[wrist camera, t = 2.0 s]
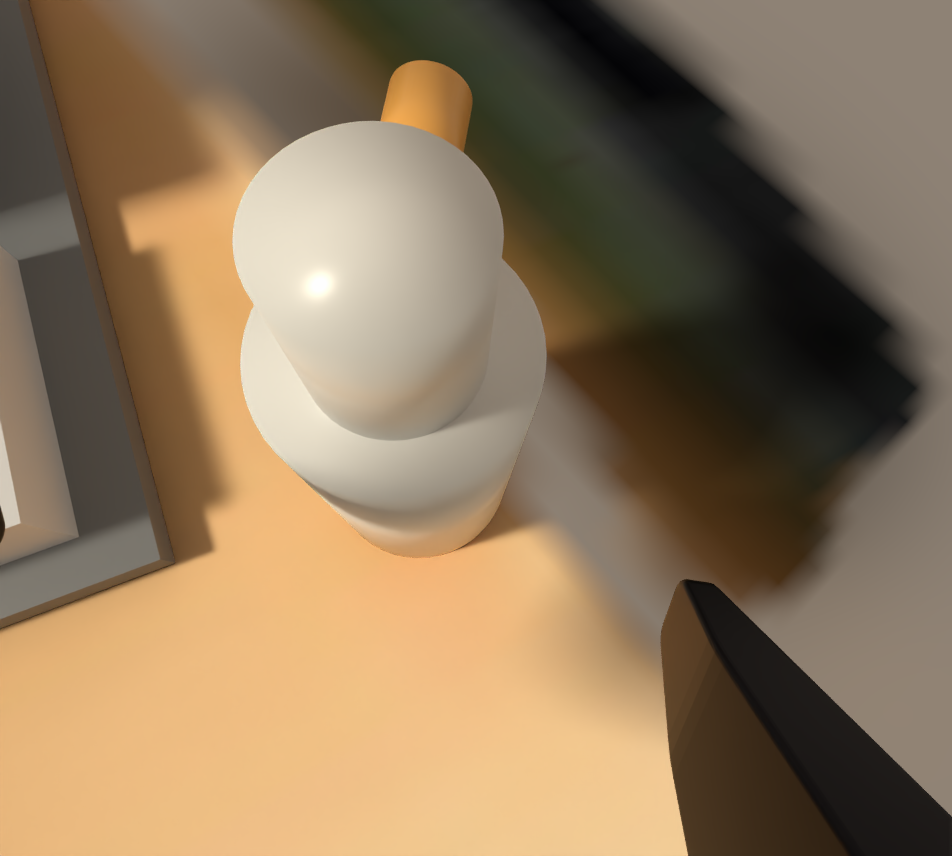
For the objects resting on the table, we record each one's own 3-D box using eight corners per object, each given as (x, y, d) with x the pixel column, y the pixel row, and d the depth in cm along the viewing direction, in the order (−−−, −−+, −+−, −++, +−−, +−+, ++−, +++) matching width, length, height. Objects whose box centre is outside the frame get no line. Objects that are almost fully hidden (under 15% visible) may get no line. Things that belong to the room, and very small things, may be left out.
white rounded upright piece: (493, 570, 19) (562, 474, 7) (317, 543, 19) (84, 401, 7) (521, 363, 21) (614, 8, 9) (362, 339, 21) (238, -46, 9)
